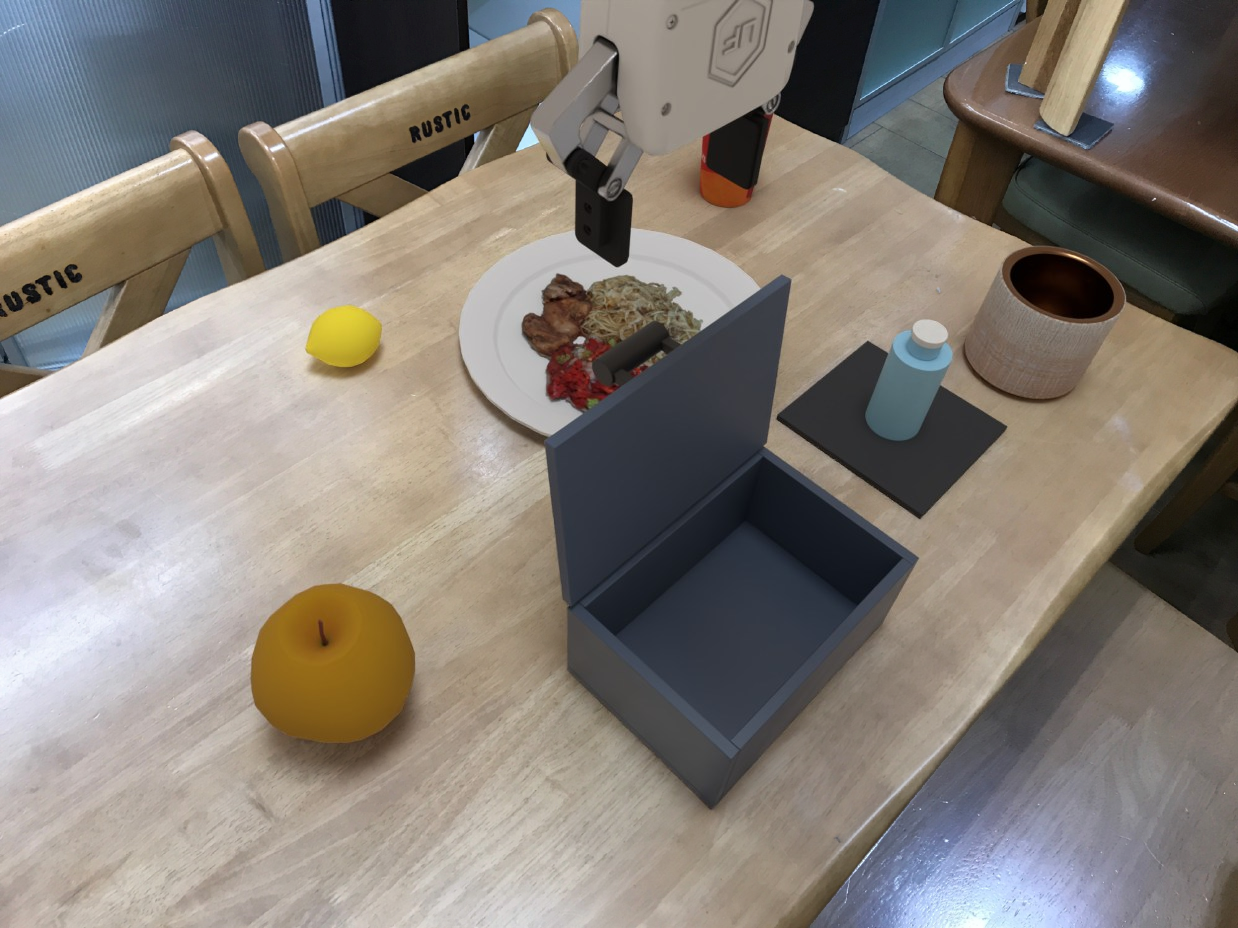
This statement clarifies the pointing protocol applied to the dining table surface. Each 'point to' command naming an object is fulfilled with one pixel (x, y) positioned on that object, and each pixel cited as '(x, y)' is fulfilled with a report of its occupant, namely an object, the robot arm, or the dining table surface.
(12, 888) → the dining table surface
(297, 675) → the apple
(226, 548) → the dining table surface
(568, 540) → the lid
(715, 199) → the coffee cup
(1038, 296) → the planter
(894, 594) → the chest
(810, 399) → the mat
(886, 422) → the bottle
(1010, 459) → the dining table surface
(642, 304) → the plated food
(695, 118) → the robot arm
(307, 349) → the lemon
